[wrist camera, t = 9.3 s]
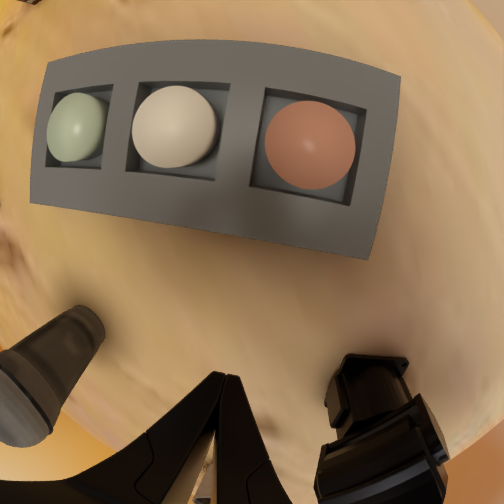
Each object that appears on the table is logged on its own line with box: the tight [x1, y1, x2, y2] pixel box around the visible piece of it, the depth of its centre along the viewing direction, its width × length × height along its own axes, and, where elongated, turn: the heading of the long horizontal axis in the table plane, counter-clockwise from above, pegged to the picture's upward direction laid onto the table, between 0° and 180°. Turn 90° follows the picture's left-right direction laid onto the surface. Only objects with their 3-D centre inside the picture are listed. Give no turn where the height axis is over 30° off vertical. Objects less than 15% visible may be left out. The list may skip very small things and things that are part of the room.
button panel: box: [30, 40, 401, 260], centre depth 16 cm, size 26×12×2 cm, turn 81°
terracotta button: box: [265, 101, 355, 189], centre depth 15 cm, size 5×5×2 cm
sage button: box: [47, 93, 110, 162], centre depth 16 cm, size 5×5×2 cm
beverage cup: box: [0, 305, 105, 448], centre depth 14 cm, size 7×7×20 cm
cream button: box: [132, 86, 220, 168], centre depth 15 cm, size 5×5×2 cm
